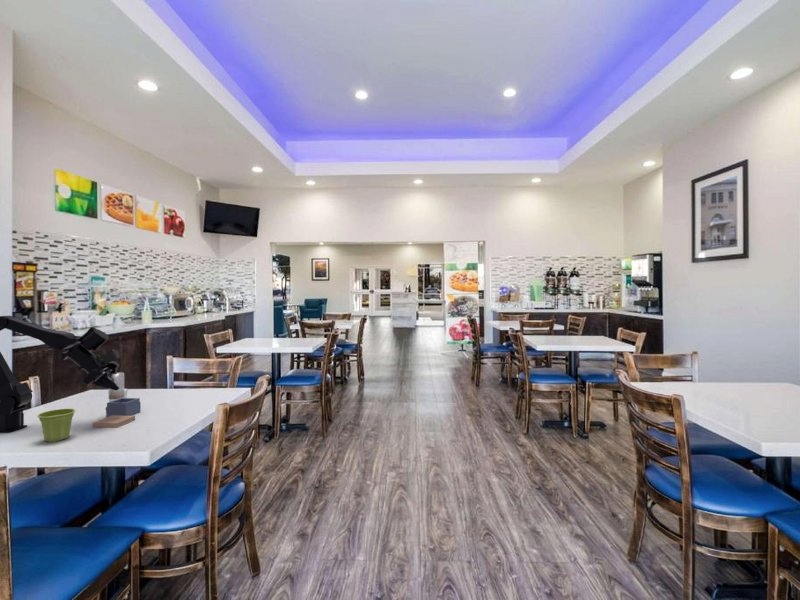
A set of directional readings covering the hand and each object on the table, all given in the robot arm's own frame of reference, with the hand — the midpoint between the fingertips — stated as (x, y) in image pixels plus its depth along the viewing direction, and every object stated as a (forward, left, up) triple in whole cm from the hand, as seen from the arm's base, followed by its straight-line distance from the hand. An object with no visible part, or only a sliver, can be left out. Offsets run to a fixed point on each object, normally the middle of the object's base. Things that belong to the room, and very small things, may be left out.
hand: (120, 387), depth 151 cm
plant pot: (-19, +7, -13) cm, 24 cm away
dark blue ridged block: (+9, +6, -12) cm, 16 cm away
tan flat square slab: (-2, +1, -12) cm, 13 cm away
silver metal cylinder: (0, +1, -4) cm, 4 cm away
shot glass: (+20, +17, -13) cm, 29 cm away
